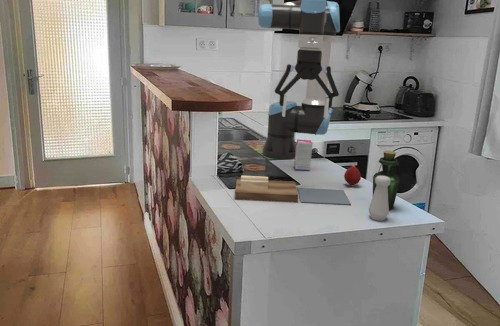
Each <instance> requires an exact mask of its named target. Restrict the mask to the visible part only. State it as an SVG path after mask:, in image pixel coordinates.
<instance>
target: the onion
mask: <svg viewBox="0 0 500 326" xmlns="http://www.w3.org/2000/svg"><path fill="white" fill-rule="evenodd" d="M361 175H362V174H361V172H360V170H359V168H357V167H356V166H355V164H352V165H351V166H350V167H348V168H347V169H346V170H345V172H344V175H343V176H344V177H343V178H344V180H345V183H347V184H348V185H349V186H350V187H353V186H355V185H357V184H359V182H360V181H361V180H362V176H361Z"/></svg>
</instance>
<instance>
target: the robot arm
mask: <svg viewBox="0 0 500 326" xmlns="http://www.w3.org/2000/svg"><path fill="white" fill-rule="evenodd" d="M257 16H258V18H257V20H258V21H257V22H258V25H259V27H260V28H264V29H265V28H266V29H280V30H282V29H285V30H297V31H298V42H297V43H298V44H297V47H298V48H299V49H298V50H297V54H296V55H297V56H296V63H295V65H294V64H290V63H287V64H286V65H285V66H286V67H285V71H284V73H283V75H282V76H281V79H280V80H279V82H278V83H277V85H276V87H275V88H274V93H275V94H277V95H279V102H273V103H271V104H270V105H269V108H268V114H267V115H268V118H267V119H268V121H267V122H268V123H267V136H266V137H267V138H266V139H265V142H264V145H263V147H262V155H263V156H265V157H267V158H273V159H279V160H280V159H281V160H282V159H283V160H287V159H293V158H294V159H295V154H296V140H295V133H297V134H308V135H315V136H317V135H320V136H321V135H322V136H325V134H327V132H328V129H329V125H330V121H331V116H332V113H333V108H332V107H333V99H334V98H335V97H339V94H340V93H339V91H338V88H337V86H336V83H335V80H334V78H333V75H332V70H331V69H332V68H331V66H330V63H331V61H330V60H331V52H332V51H331V49H332V41H333V40H334V39H335V38H336V36H337V33H340V31H341V23H340V20H341V19H340V17H341V16H340V5H339V4H338V2H335V1H329V0H295V1H294V0H293V1H288V2H284V3H282V4H277V3H276V4H275V3H274V4H272V3H268V4H266V3H264V4H261V5H260V6H259V9H258V15H257ZM294 70H295V73H296V74H295V75H294V77H293V78H292V79H291V80H290V81H289V82H288V83H287V84H286V85H285V82H286V80H287V79H288V77H289V75H290V73H291V72H293V71H294ZM300 79H301V80H304V81H305V80H306V89H305V92H306V93H305V98H304V99H303V100H302V101H301V105H298V103H297V101H291V100H290V101H288V100H287V95H286V93H288V91H290V89H291V88H292V87H293V86H294V85H295V84H296V83H297V82H298V81H300ZM328 84H329V86H330V88H331V90H330V89H329V88H328ZM284 85H285V86H284ZM283 86H284V87H283ZM282 87H283V89H282ZM331 91H332V92H331Z"/></svg>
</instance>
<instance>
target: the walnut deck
mask: <svg viewBox="0 0 500 326" xmlns="http://www.w3.org/2000/svg"><path fill="white" fill-rule="evenodd" d="M235 183H236V184H235V191H234V200H237V201H256V202H257V201H259V202H276V203H277V202H279V203H295V204H296V203H299V194H298V190H297V188H298V187H297V185H296V182H295V181H289V180H288V181H287V180H269V179H268V190H265V189H245V188H240V184H241V178H236V182H235Z"/></svg>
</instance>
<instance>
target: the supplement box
mask: <svg viewBox="0 0 500 326" xmlns="http://www.w3.org/2000/svg"><path fill="white" fill-rule="evenodd" d="M295 145H296V154H295V157H294V166H293V168H294V170H295V172H296V171H297V172H299V171H300V172H310V171H311V161H312V152H313V141H312V140H310V139H300V138H299V139H296V143H295Z"/></svg>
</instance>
